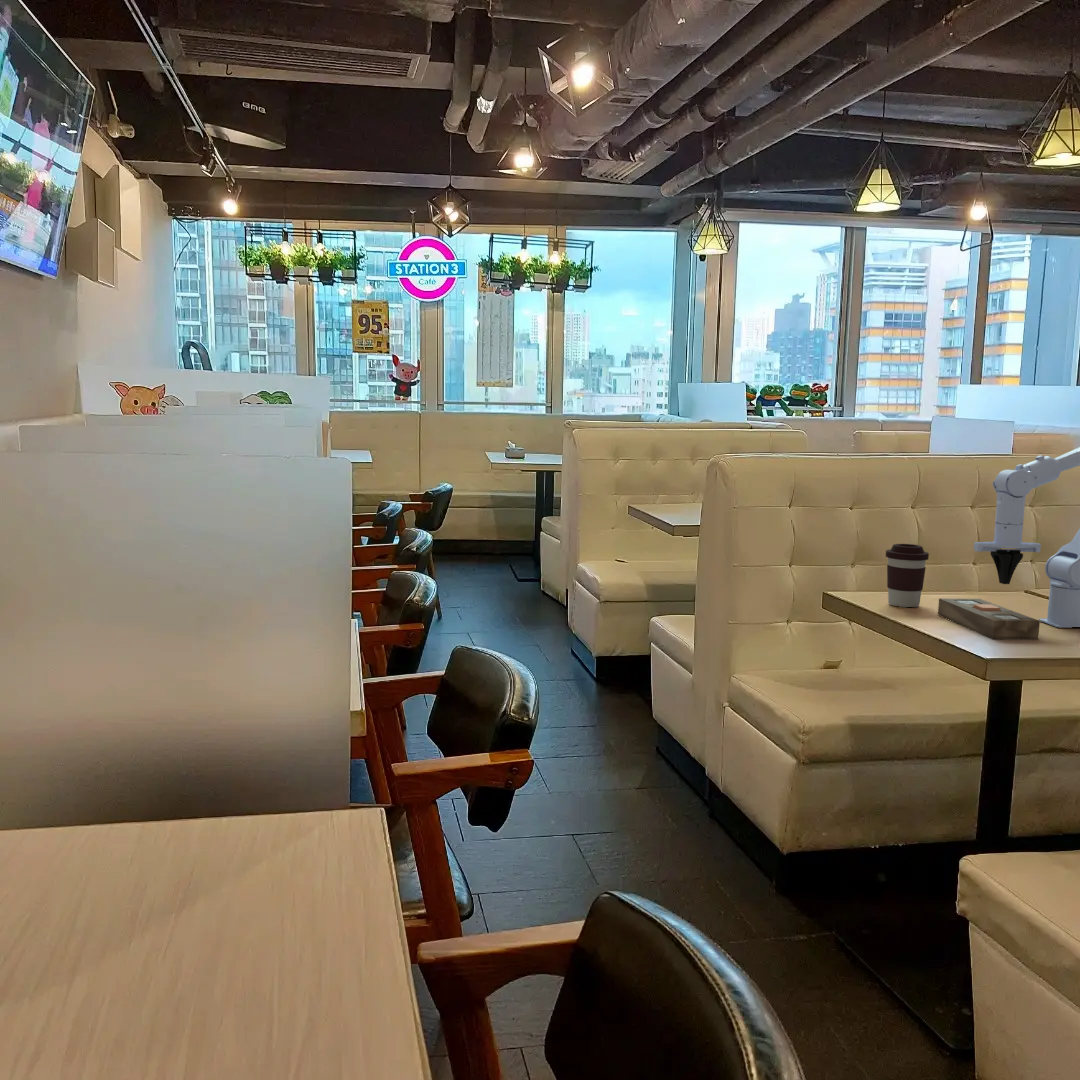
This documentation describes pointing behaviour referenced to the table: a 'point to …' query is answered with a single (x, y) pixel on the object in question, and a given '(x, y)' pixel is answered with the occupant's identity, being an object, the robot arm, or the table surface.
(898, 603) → the coffee cup
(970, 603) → the steel plunger
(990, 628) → the block
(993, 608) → the orange square block
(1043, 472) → the robot arm
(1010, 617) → the pale grey square block
